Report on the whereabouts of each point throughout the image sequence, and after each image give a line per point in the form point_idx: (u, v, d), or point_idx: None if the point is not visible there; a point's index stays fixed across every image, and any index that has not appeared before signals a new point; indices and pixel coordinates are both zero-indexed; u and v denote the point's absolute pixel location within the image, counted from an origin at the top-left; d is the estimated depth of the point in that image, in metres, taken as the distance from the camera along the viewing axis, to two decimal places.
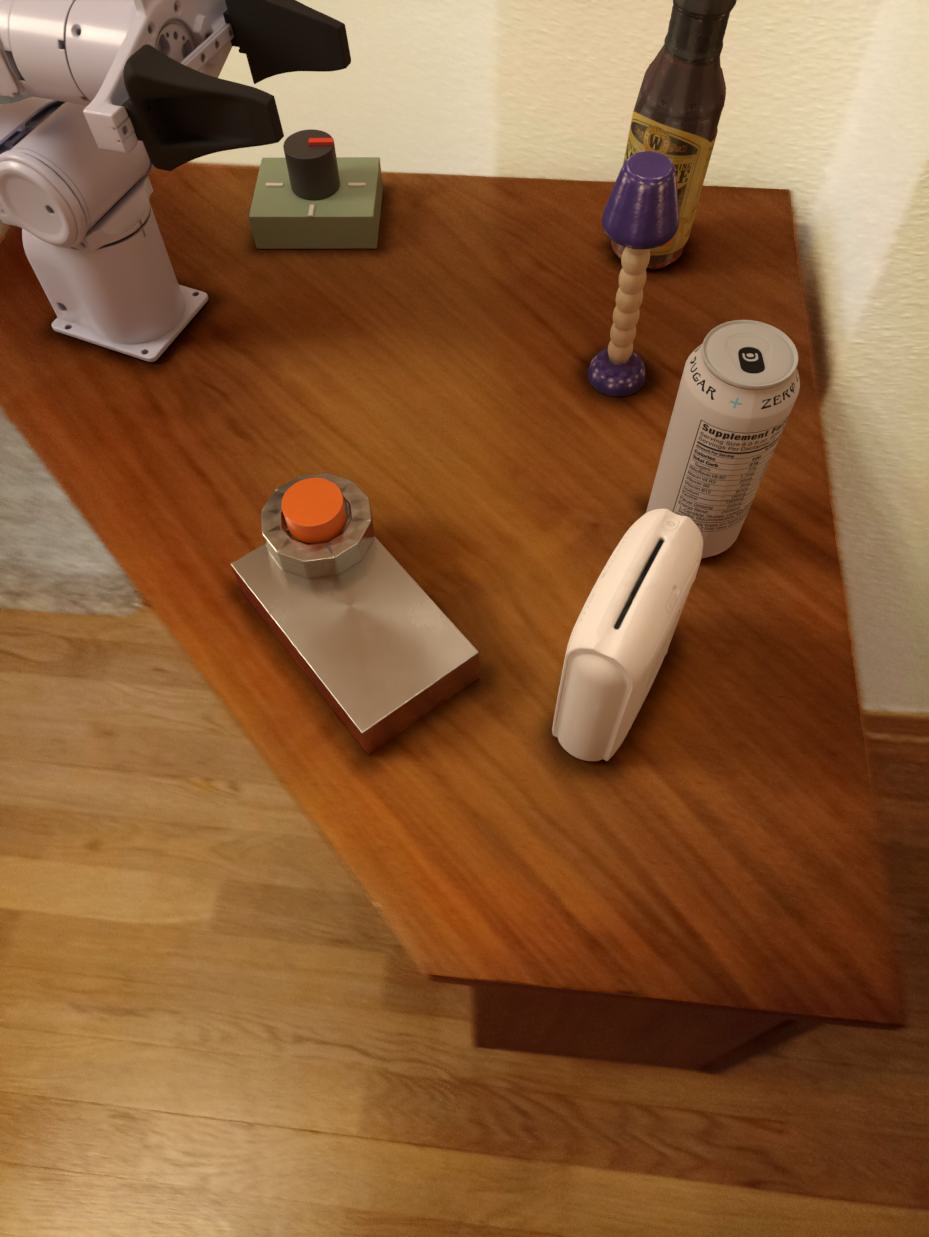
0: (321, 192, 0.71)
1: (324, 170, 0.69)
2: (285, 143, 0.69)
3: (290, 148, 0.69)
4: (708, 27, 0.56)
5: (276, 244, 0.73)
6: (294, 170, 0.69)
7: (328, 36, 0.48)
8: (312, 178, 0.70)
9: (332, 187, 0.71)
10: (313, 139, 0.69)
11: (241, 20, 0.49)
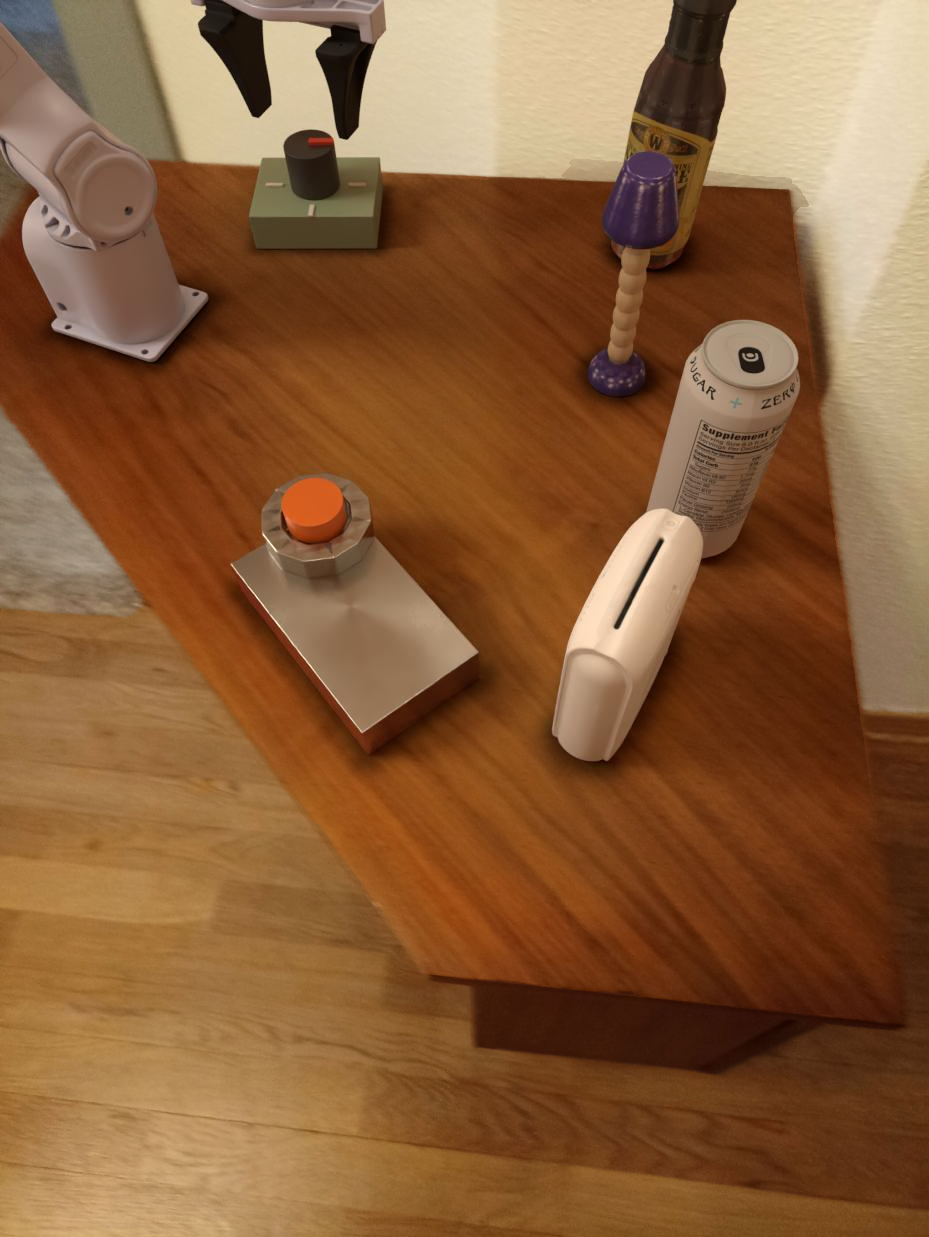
0: (321, 192, 0.71)
1: (324, 170, 0.69)
2: (285, 143, 0.69)
3: (290, 148, 0.69)
4: (709, 27, 0.56)
5: (276, 244, 0.73)
6: (294, 170, 0.69)
7: (266, 98, 0.68)
8: (312, 178, 0.70)
9: (332, 187, 0.71)
10: (313, 139, 0.69)
11: (249, 17, 0.63)
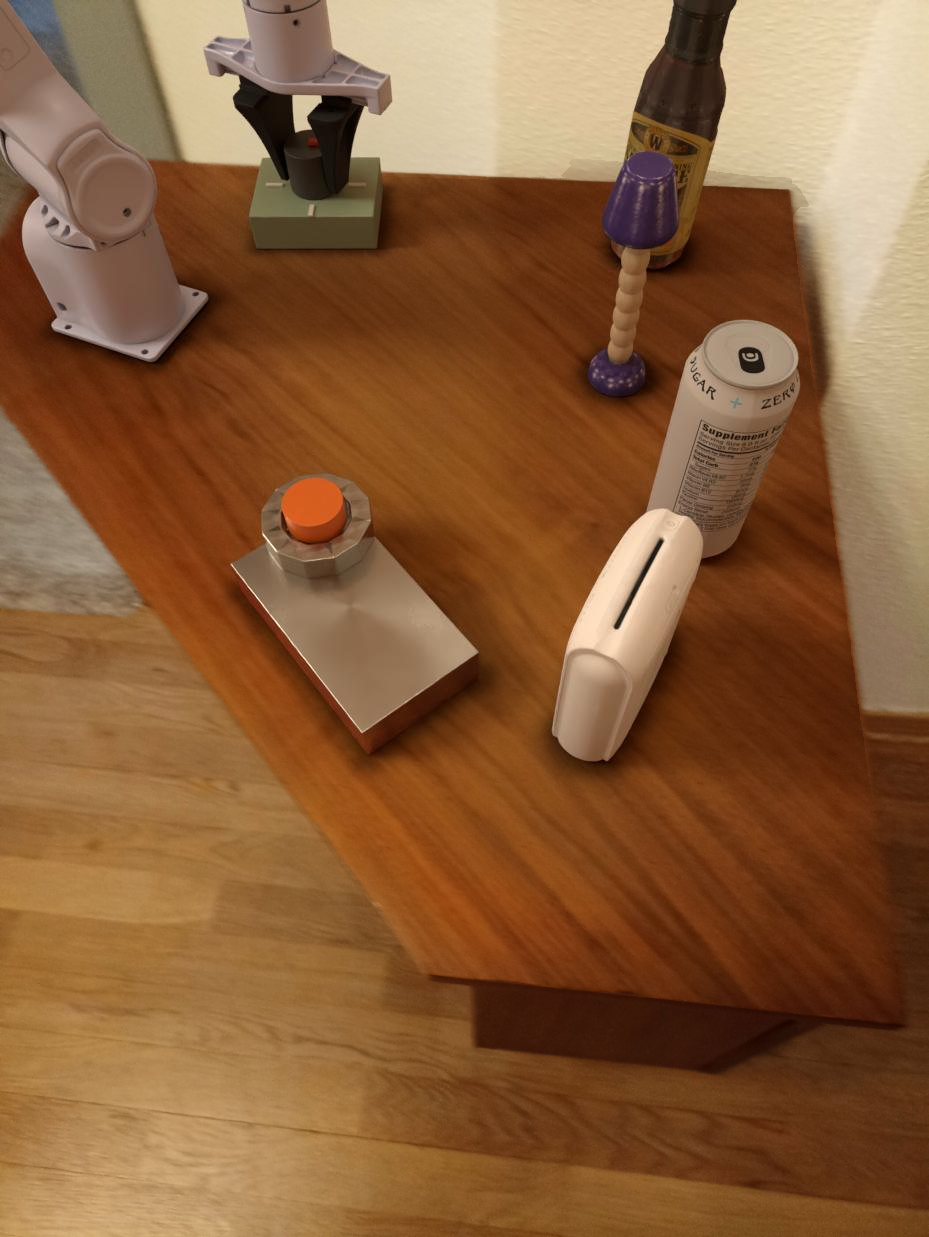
0: (321, 192, 0.71)
1: (324, 170, 0.69)
2: (285, 143, 0.69)
3: (290, 148, 0.69)
4: (709, 27, 0.56)
5: (276, 244, 0.73)
6: (294, 170, 0.69)
7: None
8: (312, 178, 0.70)
9: None
10: (313, 139, 0.69)
11: None
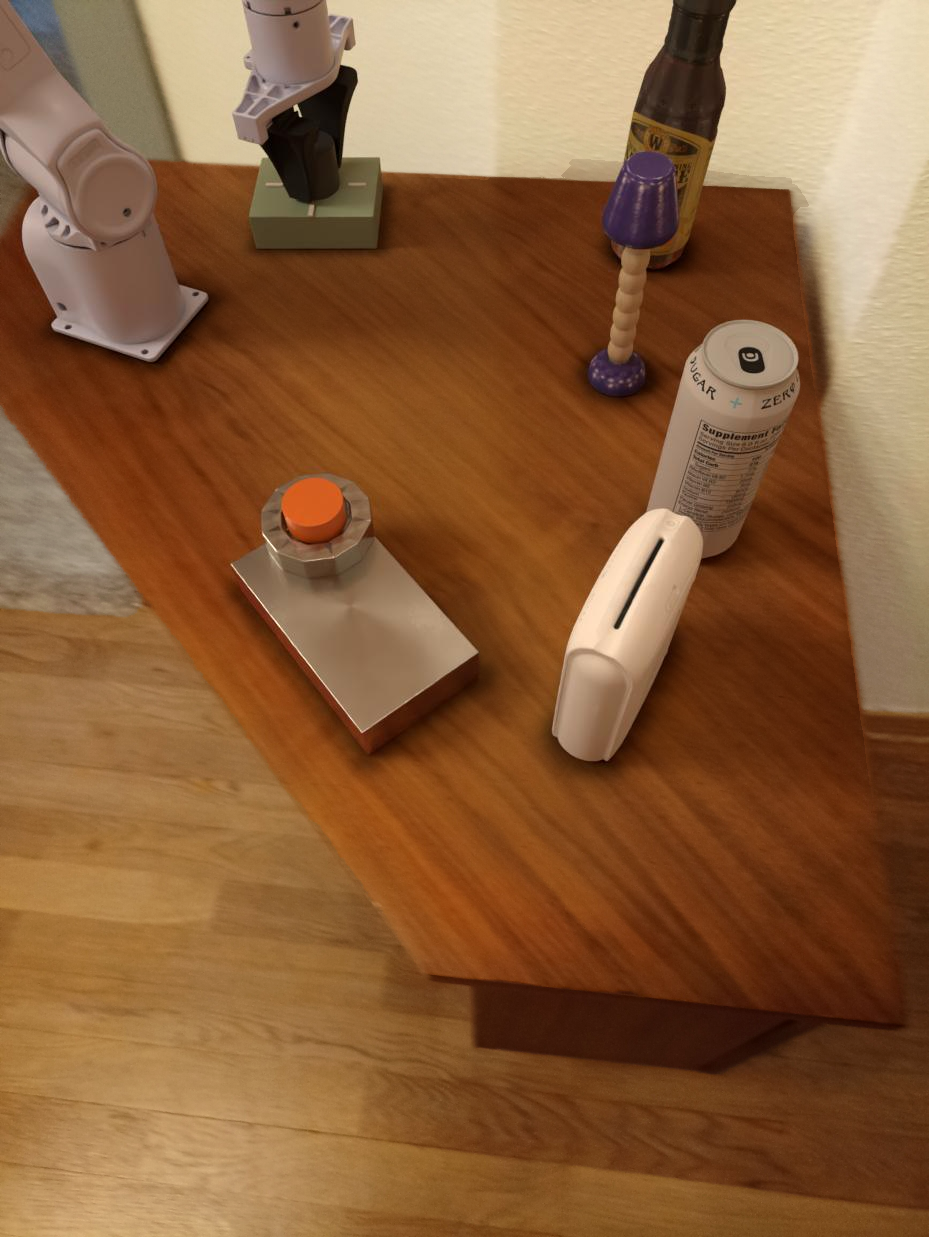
0: None
1: None
2: None
3: (315, 153, 0.69)
4: (708, 27, 0.56)
5: (276, 244, 0.73)
6: (330, 166, 0.70)
7: None
8: (336, 161, 0.71)
9: None
10: None
11: None
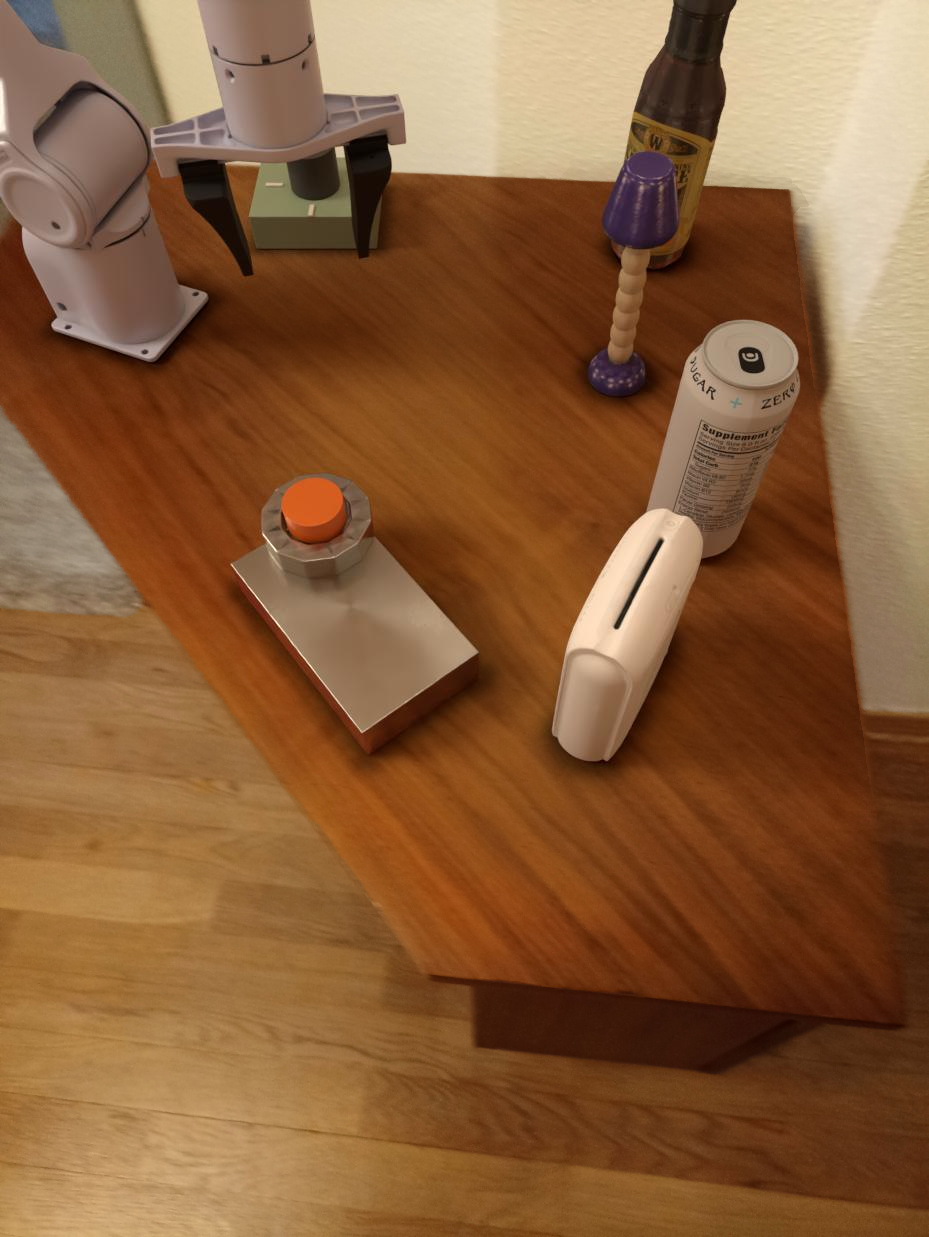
0: None
1: None
2: (305, 157, 0.68)
3: None
4: (709, 27, 0.56)
5: (276, 244, 0.73)
6: (330, 166, 0.70)
7: (249, 250, 0.58)
8: (336, 161, 0.71)
9: None
10: None
11: (224, 168, 0.53)
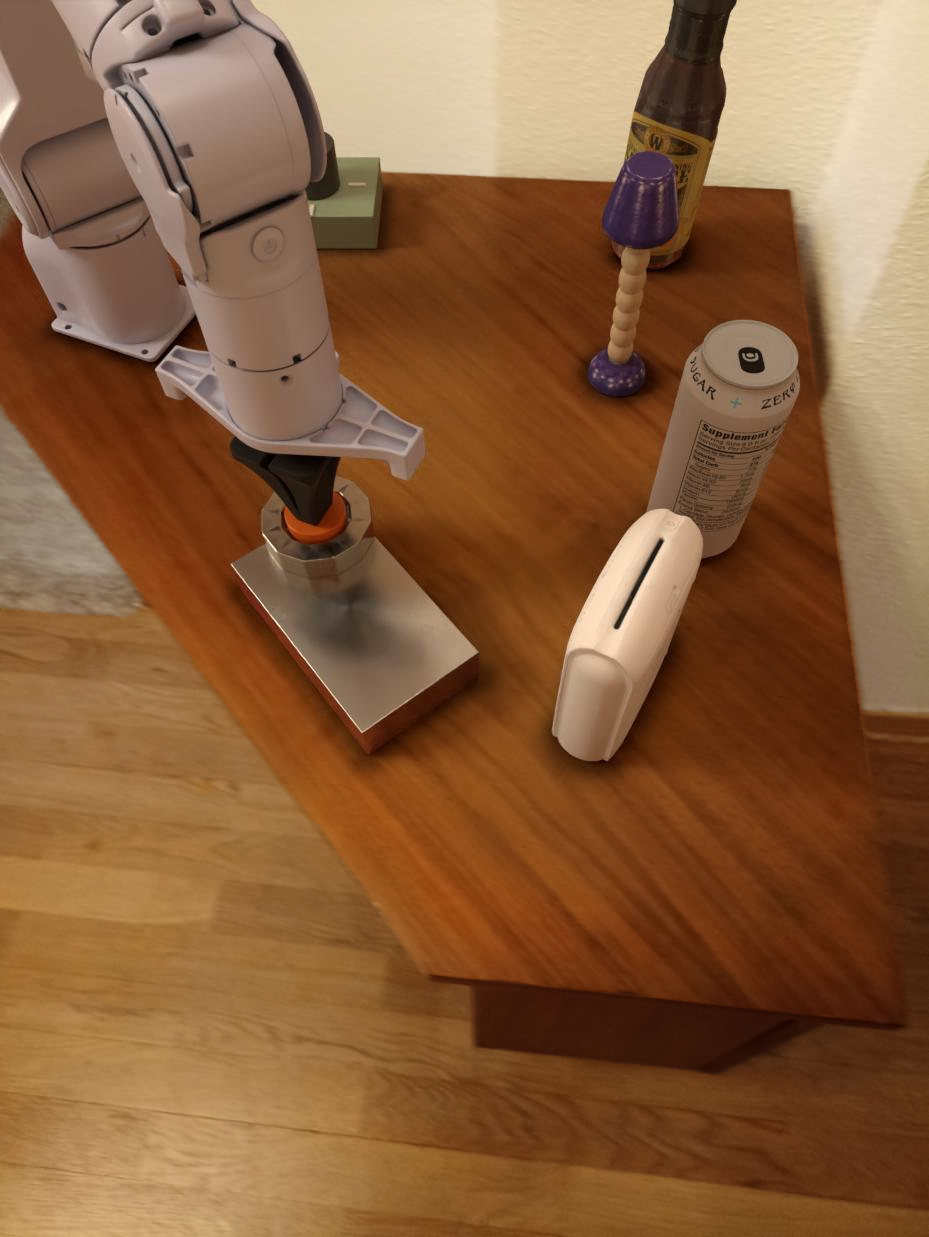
0: None
1: None
2: None
3: None
4: (709, 27, 0.56)
5: None
6: (330, 166, 0.70)
7: None
8: (336, 161, 0.71)
9: None
10: None
11: None
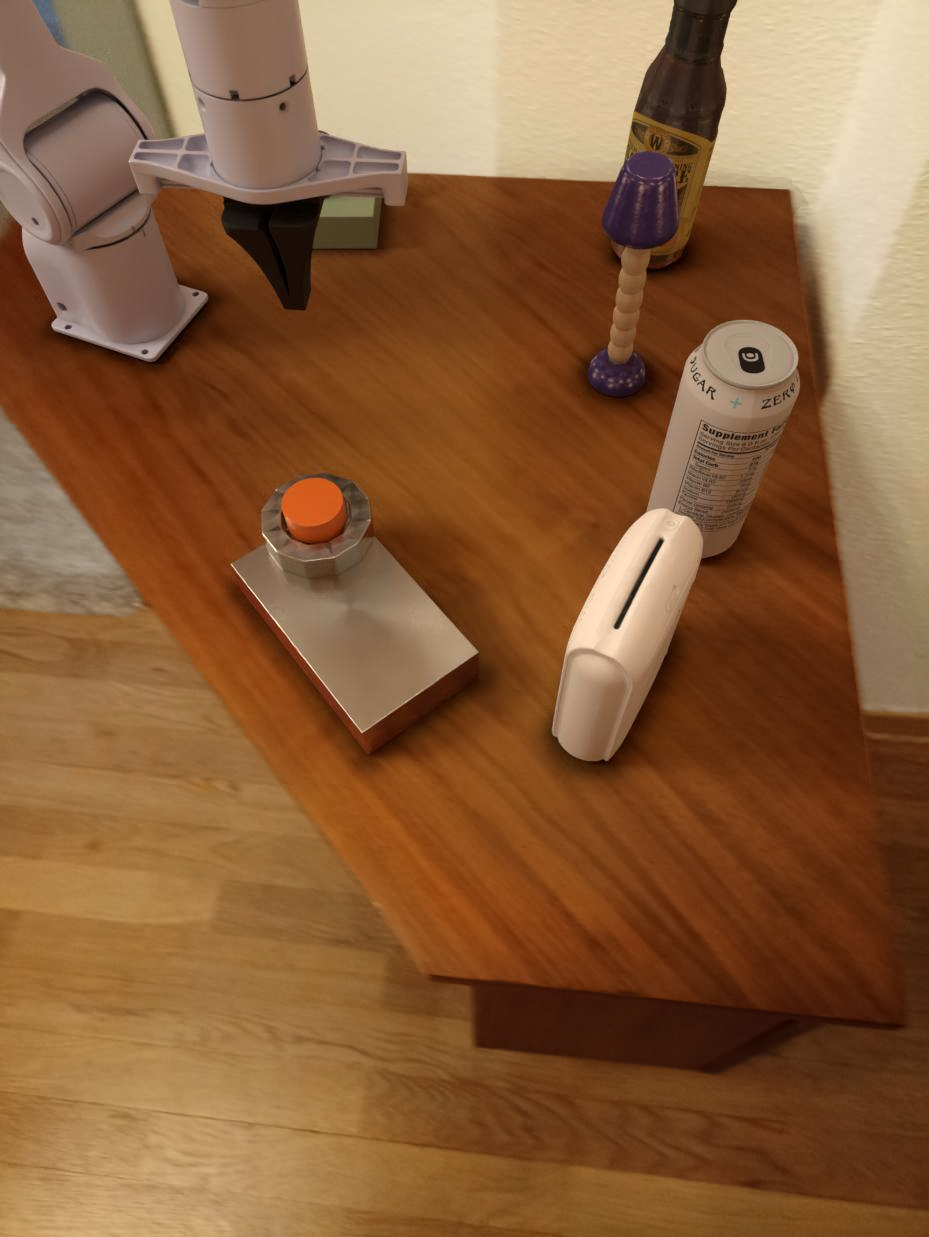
0: None
1: None
2: None
3: None
4: (709, 26, 0.56)
5: None
6: None
7: None
8: None
9: None
10: None
11: None
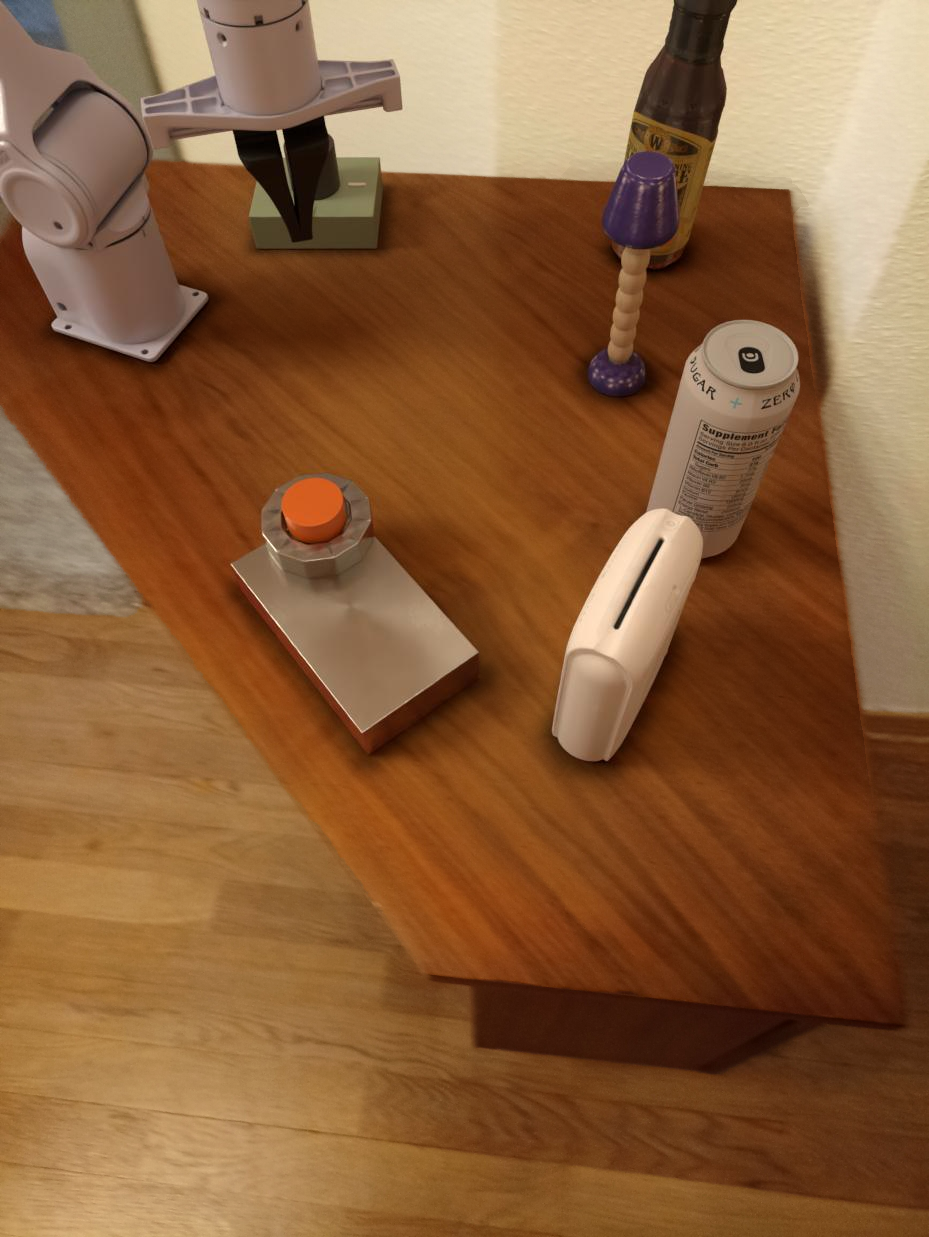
0: None
1: None
2: None
3: None
4: (709, 27, 0.56)
5: (276, 244, 0.73)
6: (330, 166, 0.70)
7: None
8: (336, 161, 0.71)
9: None
10: None
11: None
